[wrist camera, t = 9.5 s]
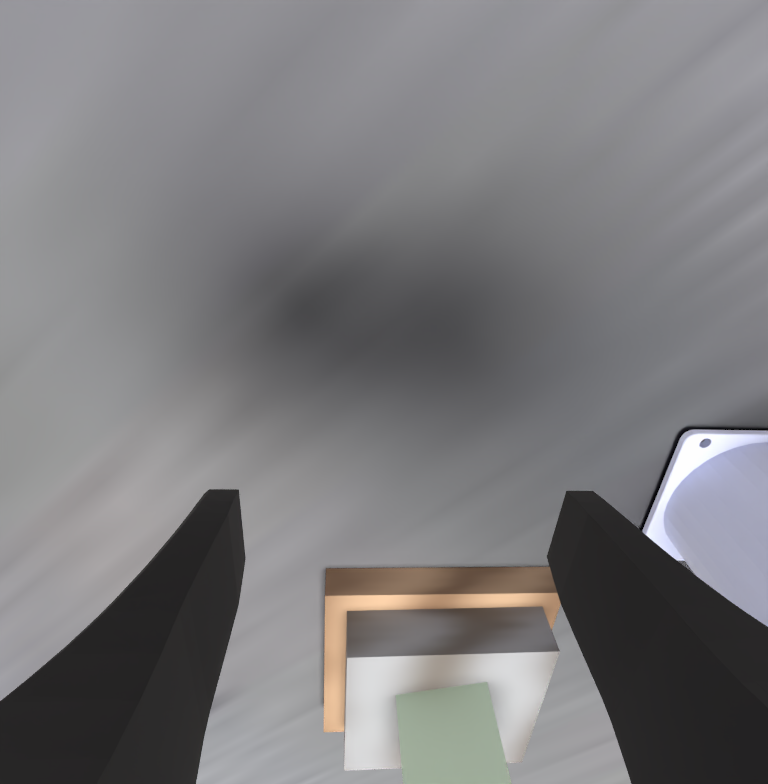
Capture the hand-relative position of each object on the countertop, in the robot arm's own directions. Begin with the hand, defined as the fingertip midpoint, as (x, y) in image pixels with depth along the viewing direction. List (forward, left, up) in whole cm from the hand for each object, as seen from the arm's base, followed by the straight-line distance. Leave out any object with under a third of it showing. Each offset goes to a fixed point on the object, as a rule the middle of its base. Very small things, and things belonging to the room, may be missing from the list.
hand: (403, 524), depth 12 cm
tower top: (-4, +19, -9) cm, 21 cm away
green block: (-4, +19, -6) cm, 20 cm away
